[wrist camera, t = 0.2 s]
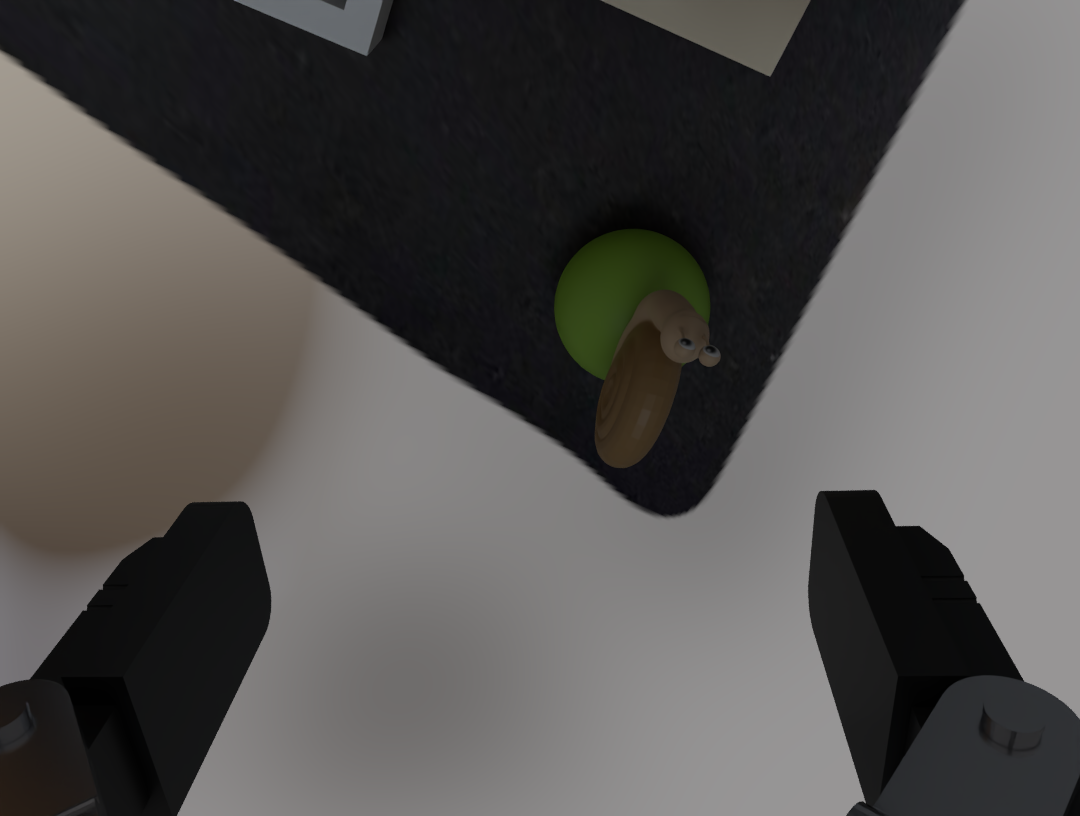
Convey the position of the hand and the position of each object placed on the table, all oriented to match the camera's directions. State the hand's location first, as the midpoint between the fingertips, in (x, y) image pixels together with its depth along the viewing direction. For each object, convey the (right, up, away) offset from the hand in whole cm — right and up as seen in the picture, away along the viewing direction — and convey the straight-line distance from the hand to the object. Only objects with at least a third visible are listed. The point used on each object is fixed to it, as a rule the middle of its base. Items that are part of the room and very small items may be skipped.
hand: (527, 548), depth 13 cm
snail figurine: (+4, +7, +21) cm, 23 cm away
